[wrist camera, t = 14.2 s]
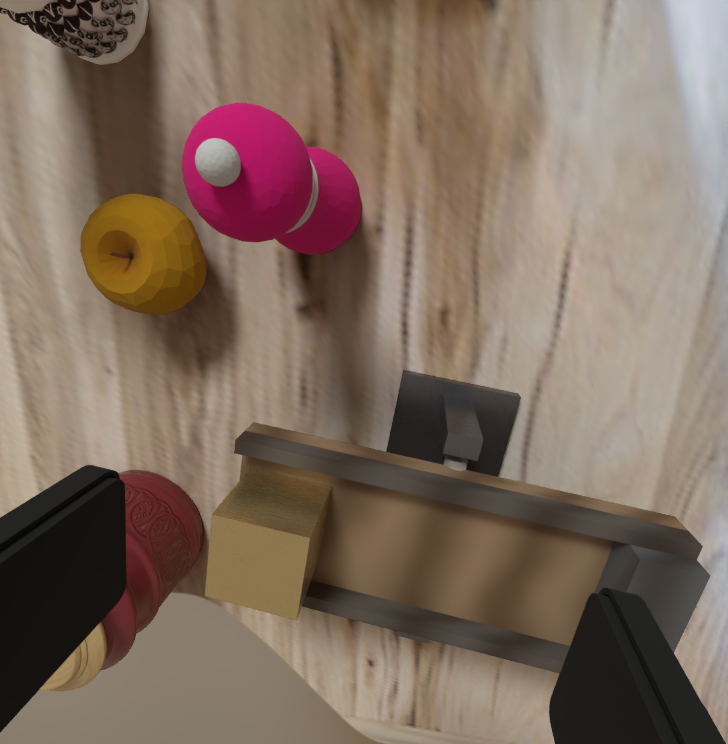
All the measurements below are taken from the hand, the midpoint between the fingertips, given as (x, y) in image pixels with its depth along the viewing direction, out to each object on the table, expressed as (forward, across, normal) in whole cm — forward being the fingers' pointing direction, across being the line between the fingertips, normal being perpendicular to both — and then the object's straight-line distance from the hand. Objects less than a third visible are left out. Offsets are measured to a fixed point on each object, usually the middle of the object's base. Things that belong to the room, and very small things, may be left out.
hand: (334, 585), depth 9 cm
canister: (+29, +24, +26) cm, 46 cm away
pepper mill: (+31, +9, -8) cm, 33 cm away
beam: (+22, -4, +14) cm, 27 cm away
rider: (+20, +7, +14) cm, 25 cm away
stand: (+30, -4, +14) cm, 34 cm away
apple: (+30, +21, -2) cm, 37 cm away
